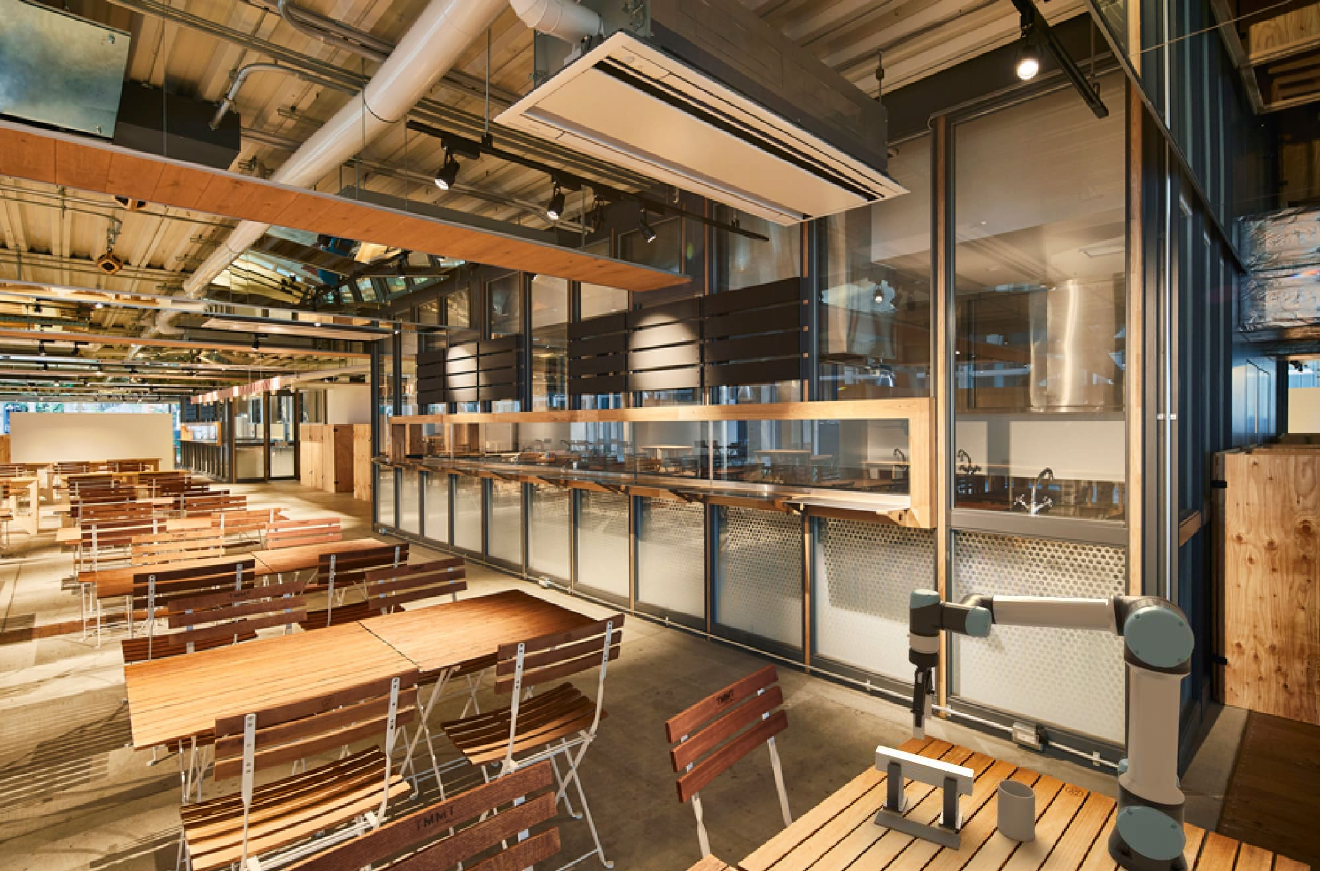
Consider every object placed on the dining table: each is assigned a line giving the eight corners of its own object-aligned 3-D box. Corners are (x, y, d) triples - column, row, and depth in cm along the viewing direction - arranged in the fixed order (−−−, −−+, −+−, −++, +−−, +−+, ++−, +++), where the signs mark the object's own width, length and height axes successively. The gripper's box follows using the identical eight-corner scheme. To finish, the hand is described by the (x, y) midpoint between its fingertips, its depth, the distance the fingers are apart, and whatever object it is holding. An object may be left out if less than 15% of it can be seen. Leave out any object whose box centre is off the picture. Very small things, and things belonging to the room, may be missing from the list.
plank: (960, 837, 160) (960, 835, 160) (958, 850, 155) (958, 848, 155) (879, 811, 170) (879, 810, 170) (874, 823, 165) (874, 821, 165)
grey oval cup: (1041, 843, 158) (1042, 799, 158) (1005, 840, 159) (1006, 796, 159) (1019, 814, 170) (1020, 773, 170) (986, 811, 171) (986, 771, 171)
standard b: (907, 799, 176) (908, 756, 176) (902, 814, 169) (902, 769, 169) (888, 794, 178) (889, 751, 178) (882, 808, 172) (883, 764, 171)
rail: (973, 788, 165) (973, 769, 165) (971, 796, 162) (971, 776, 162) (878, 763, 178) (878, 745, 178) (875, 769, 175) (875, 751, 174)
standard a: (963, 816, 168) (963, 771, 168) (959, 832, 162) (960, 785, 162) (942, 810, 171) (943, 765, 171) (938, 825, 164) (939, 779, 164)
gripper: (916, 633, 182) (914, 707, 182) (900, 660, 160) (899, 743, 160) (944, 638, 178) (943, 713, 178) (932, 666, 156) (931, 751, 156)
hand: (922, 727), depth 169 cm, fingers open, 13 cm apart
